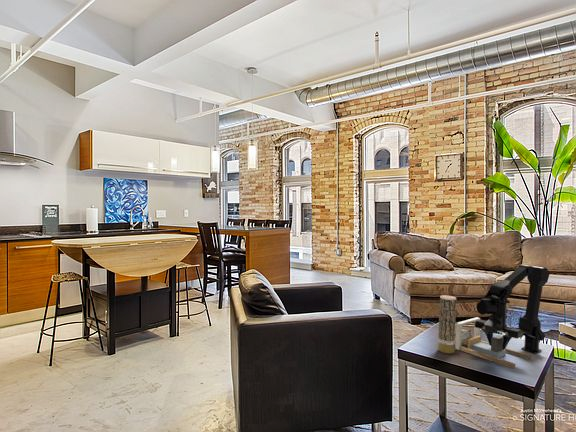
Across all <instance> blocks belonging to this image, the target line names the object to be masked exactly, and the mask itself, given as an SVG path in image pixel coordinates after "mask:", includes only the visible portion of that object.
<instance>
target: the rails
mask: <svg viewBox="0 0 576 432" xmlns="http://www.w3.org/2000/svg"><path fill="white" fill-rule="evenodd" d="M481 342H482V343H485V344H488V345H489V342H488V341H485V340H482V339H481ZM504 350H506V354H510V355H512V356H513V355H514V356H516V357H517V356H518V357H520V358H523V359H527V360H528V361H529V360H530V361H532V360H533V358H534V356H533V354H532V355H531V354H528V353H525V352H522V351H519V350H515V349H511V348H508V347H506V348H505V349H504ZM460 351H462V352H464V353H467V354H469V355H472V356H476V357H478V358H482V359H485V360H488V361H491V362H493V361H494V363H495V364H499V365H501V366H505V367H508V368H510V369H511V368H512V369H516V368H517V367H516V366H517V365H516V363H514V362H512V361H509V360H505V359H502V358H496V357H493V356H490V355H487V354H484V353H481V352H478V351H475V350H472V349H469V348H468V347H466V346H464V345H461V350H460Z"/></svg>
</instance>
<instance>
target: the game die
mask: <svg viewBox="0 0 576 432" xmlns="http://www.w3.org/2000/svg"><path fill="white" fill-rule="evenodd" d="M471 331H472V330H471V329H469V330H467V329H464V328H462V342H461V346H464V347H466V348H468V339H471V338H473V337H472V334H471ZM455 339H456V332H455Z"/></svg>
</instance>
